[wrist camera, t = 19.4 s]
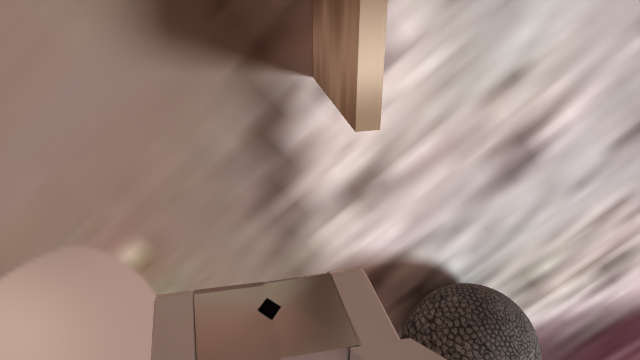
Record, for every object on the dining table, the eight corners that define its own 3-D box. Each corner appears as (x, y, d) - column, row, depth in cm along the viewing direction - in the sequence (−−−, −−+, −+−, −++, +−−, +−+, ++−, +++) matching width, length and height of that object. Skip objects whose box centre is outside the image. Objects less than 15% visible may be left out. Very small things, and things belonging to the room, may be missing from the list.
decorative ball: (419, 243, 41) (484, 336, 32) (517, 273, 45) (600, 362, 36) (360, 343, 44) (405, 451, 35) (457, 362, 48) (519, 464, 39)
